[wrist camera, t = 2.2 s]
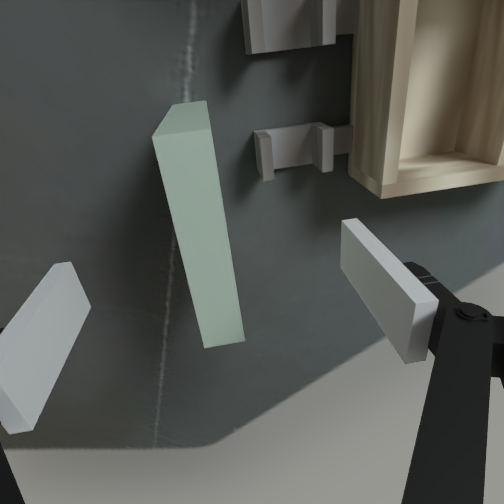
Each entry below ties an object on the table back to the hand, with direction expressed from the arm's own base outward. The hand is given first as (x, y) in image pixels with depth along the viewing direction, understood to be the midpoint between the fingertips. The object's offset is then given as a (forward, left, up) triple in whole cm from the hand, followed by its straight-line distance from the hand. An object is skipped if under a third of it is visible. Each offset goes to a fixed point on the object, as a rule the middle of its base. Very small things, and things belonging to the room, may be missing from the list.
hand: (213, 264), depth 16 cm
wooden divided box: (+16, +6, -12) cm, 21 cm away
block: (0, 0, -12) cm, 12 cm away
